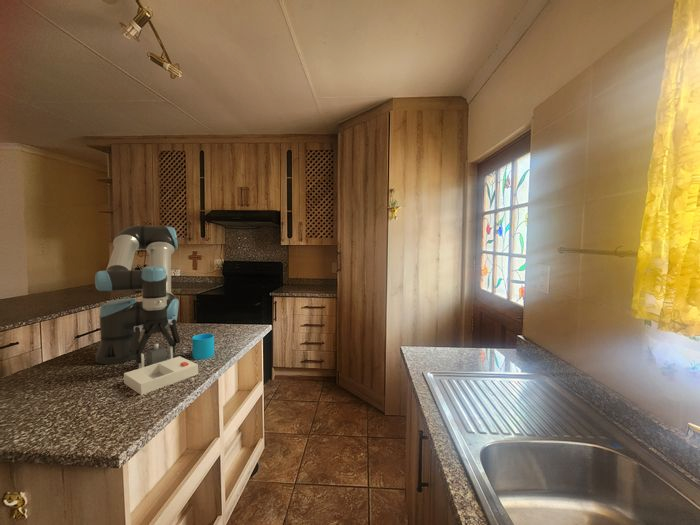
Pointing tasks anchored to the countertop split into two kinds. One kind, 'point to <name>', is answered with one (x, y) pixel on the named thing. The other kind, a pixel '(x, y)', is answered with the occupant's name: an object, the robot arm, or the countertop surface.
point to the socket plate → (160, 374)
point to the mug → (203, 346)
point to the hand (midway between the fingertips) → (156, 366)
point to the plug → (155, 355)
